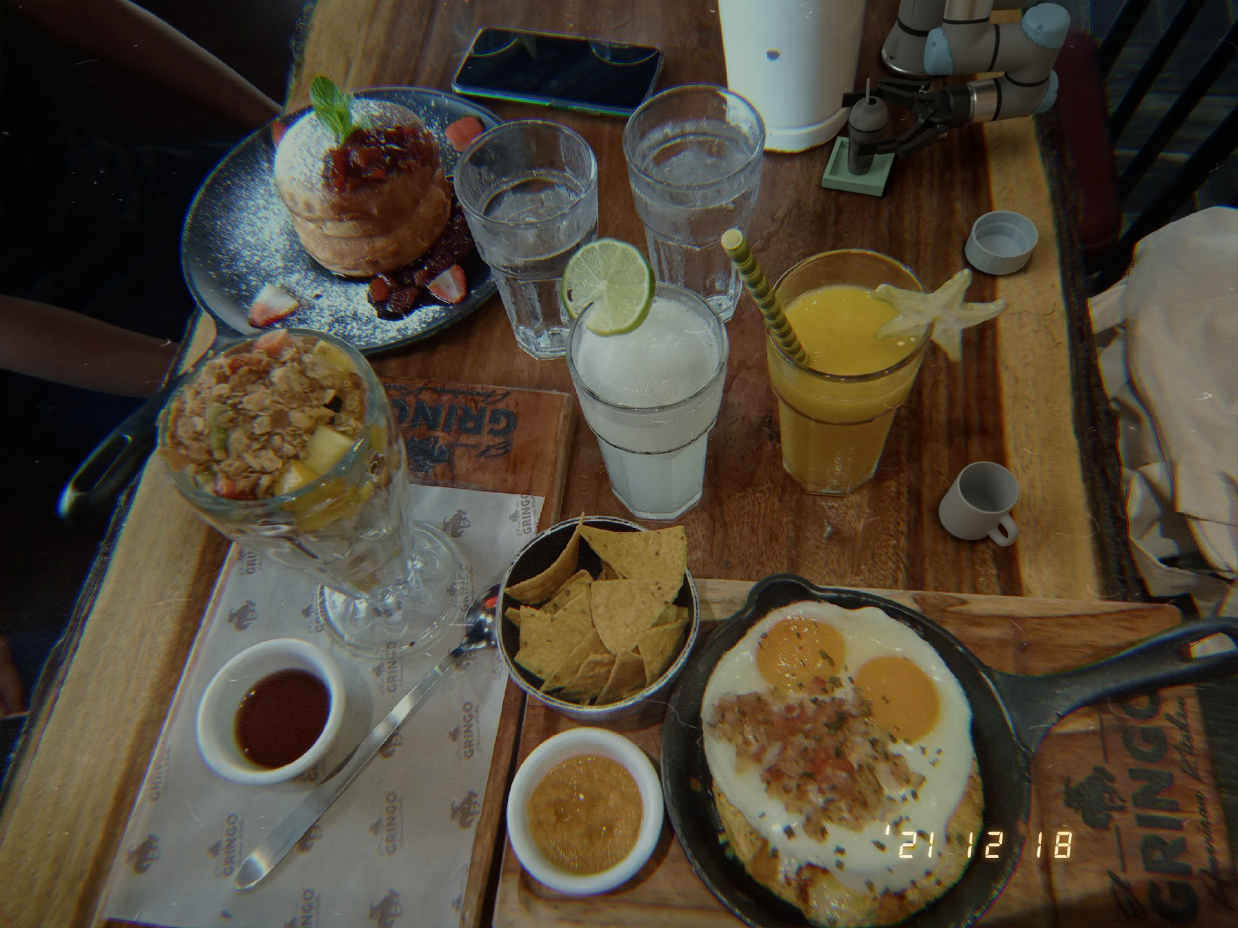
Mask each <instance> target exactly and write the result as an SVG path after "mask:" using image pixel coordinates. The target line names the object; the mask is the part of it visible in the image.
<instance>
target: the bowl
mask: <svg viewBox="0 0 1238 928" xmlns="http://www.w3.org/2000/svg"><path fill="white" fill-rule="evenodd" d="M1039 236H1040V235H1039V230H1038V227H1037V226H1036V225H1035V223H1034V222H1033V221H1032V220H1031V219H1030V218H1028V217H1027V216H1025V215H1024V214H1022V213H1019V212H1015V211H1011V210H1005V209H1004V210H993V211H990V212H987V213H984V214H982V215H981V216H980V217H978V218H977V219H976V220H975V222H974V223H973V224H972V227H971V230H970V232H969V234H968V236H967V240H966V243H965V246H964V253H965V257H966V259H967V261H968V262H969V264H971V265H972V266H973V267H975V269H977V270H979V271H981V272H983V273H985V274H990V275H995V276H1000V275H1001V276H1003V275H1004V276H1005V275H1010V274H1013V273H1016V272H1018V271H1020V270H1021V269H1022V268H1024V267H1025V265H1026V264H1027V263H1028V261H1029V259H1030V257H1031V255H1032V254H1033V252H1034V250H1035V247H1036V246H1037V244H1038V241H1039Z"/></svg>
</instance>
